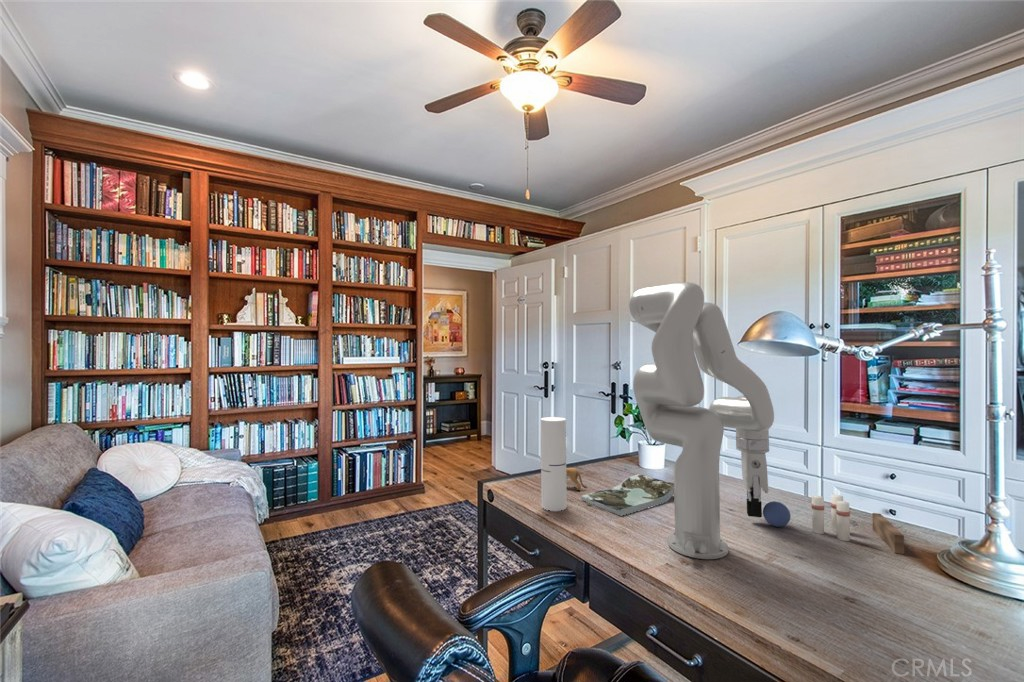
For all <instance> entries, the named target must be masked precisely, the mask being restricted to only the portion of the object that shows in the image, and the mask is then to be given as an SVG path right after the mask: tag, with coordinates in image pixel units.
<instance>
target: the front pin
mask: <svg viewBox="0 0 1024 682" xmlns="http://www.w3.org/2000/svg"><path fill="white" fill-rule="evenodd" d="M824 498H825V497H824V496H821V495H816V494H815V495H814V494H812V495H811V504H810V505H811V518H812V519H811V520H812V521H811V523H812V524H811V525H812V530H811V531H812V532H813V533H815V534H817V535H818V534H819V535H824V534H825V504H824V503H825V502H824V501H825V500H824Z"/></svg>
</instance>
